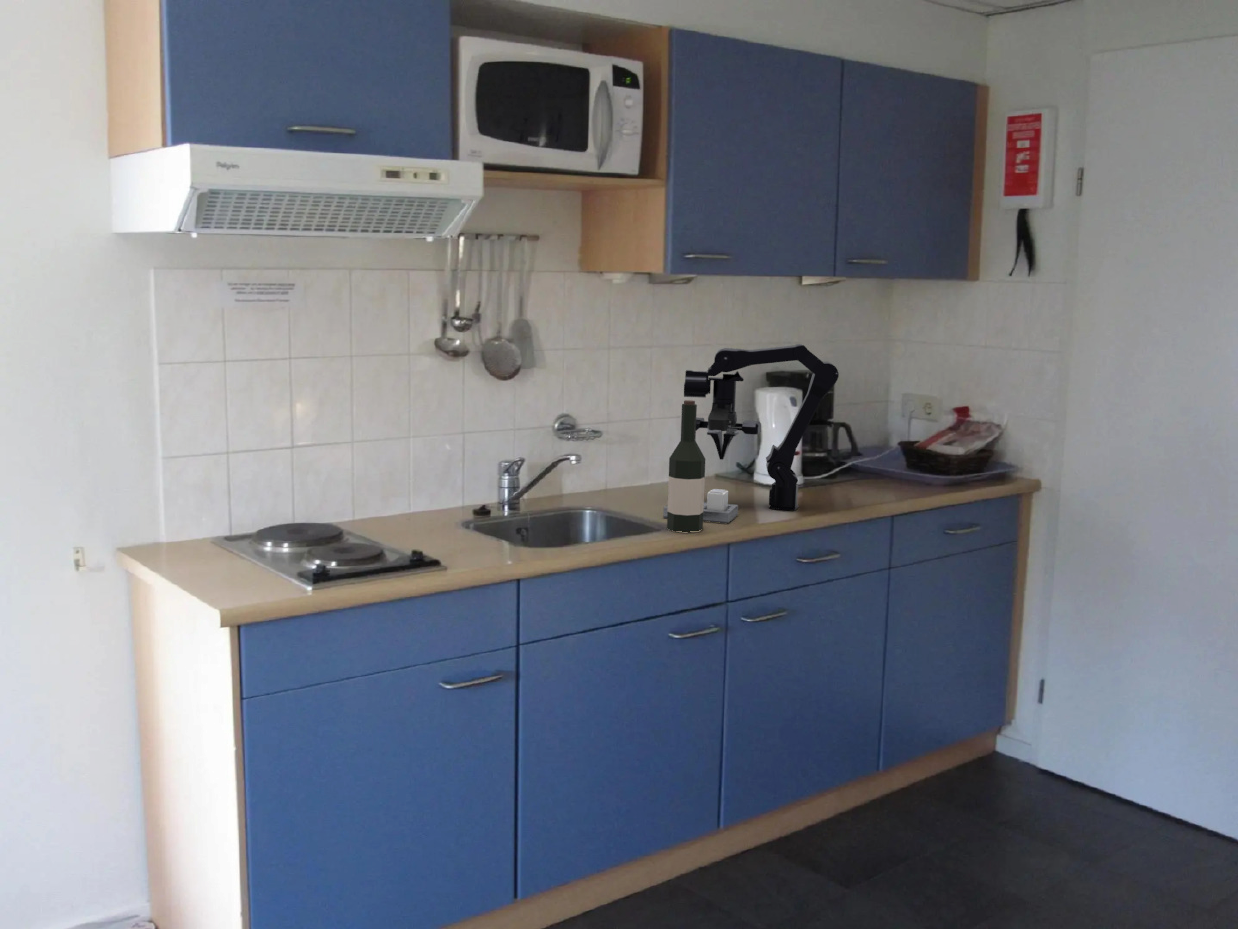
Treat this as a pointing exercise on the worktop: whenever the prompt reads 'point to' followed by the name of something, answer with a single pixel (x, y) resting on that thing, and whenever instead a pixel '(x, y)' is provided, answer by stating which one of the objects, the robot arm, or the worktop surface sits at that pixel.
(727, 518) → the socket plate
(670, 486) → the wine bottle
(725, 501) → the plug
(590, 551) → the worktop surface
